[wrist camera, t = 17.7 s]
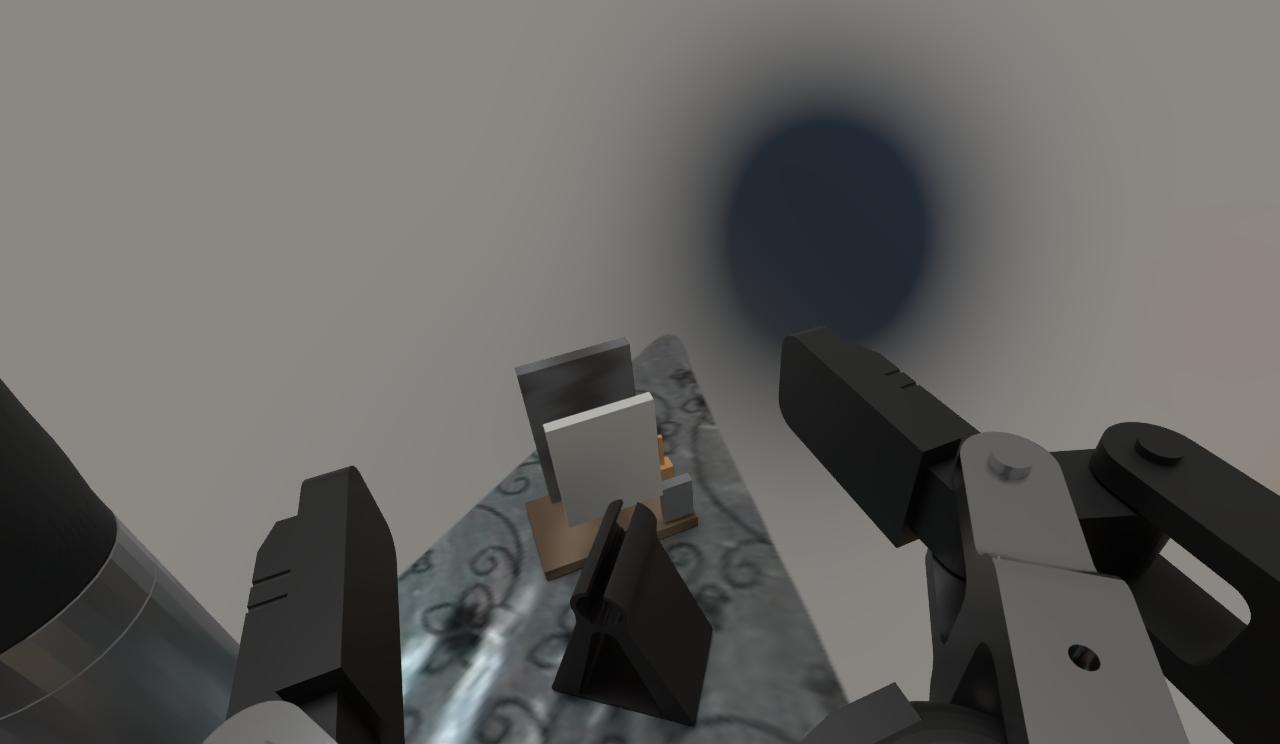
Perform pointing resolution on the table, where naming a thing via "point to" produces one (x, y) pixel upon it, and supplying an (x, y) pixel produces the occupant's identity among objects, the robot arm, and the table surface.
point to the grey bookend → (548, 398)
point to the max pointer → (664, 462)
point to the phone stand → (635, 626)
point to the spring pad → (613, 461)
